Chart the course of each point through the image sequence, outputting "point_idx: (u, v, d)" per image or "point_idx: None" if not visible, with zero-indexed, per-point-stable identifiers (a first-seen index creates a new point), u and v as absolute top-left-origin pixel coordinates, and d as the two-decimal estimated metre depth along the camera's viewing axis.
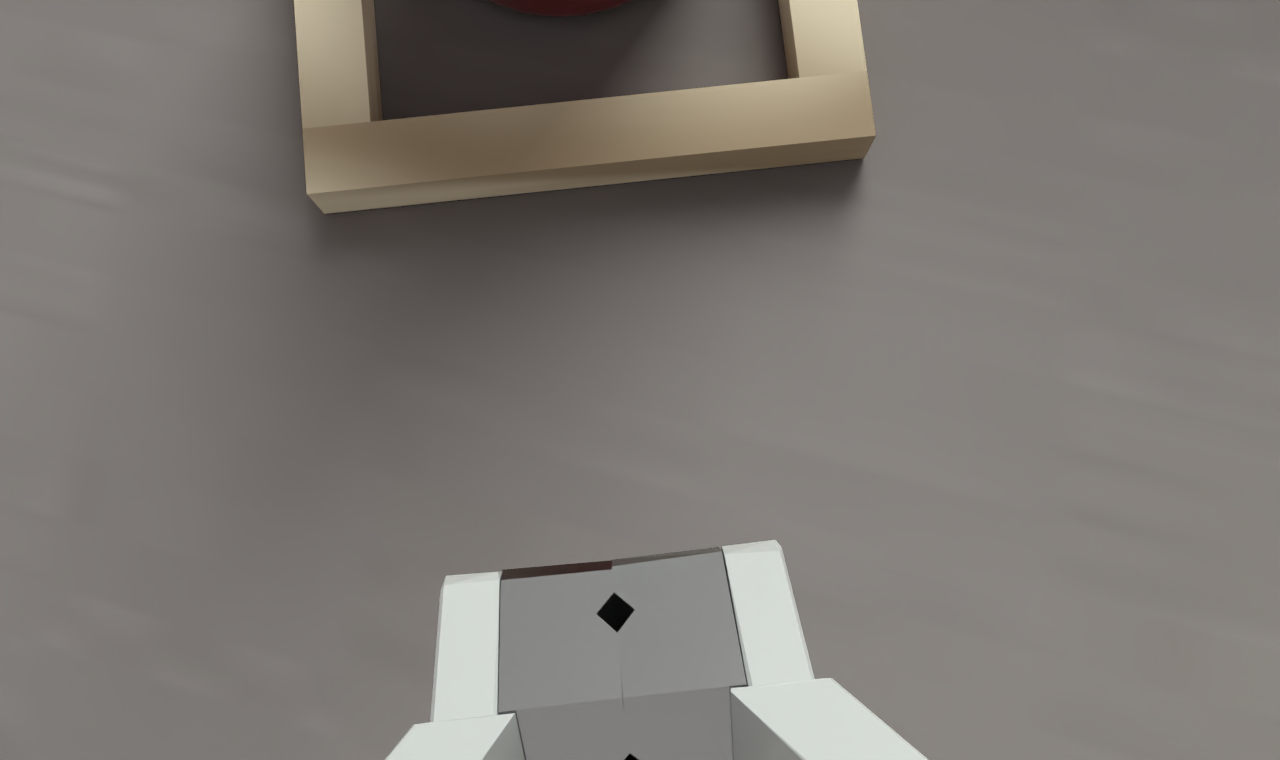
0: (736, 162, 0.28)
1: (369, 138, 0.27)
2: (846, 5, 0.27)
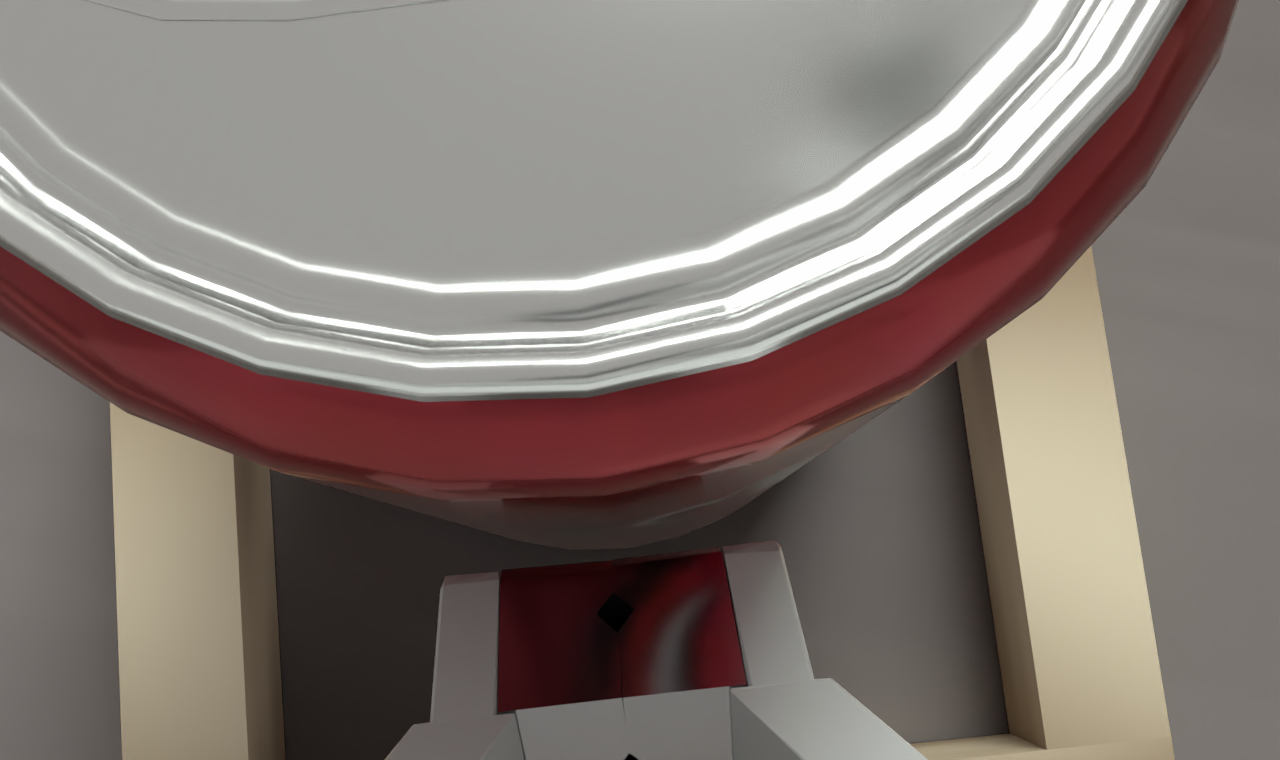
0: None
1: None
2: (1129, 606, 0.15)
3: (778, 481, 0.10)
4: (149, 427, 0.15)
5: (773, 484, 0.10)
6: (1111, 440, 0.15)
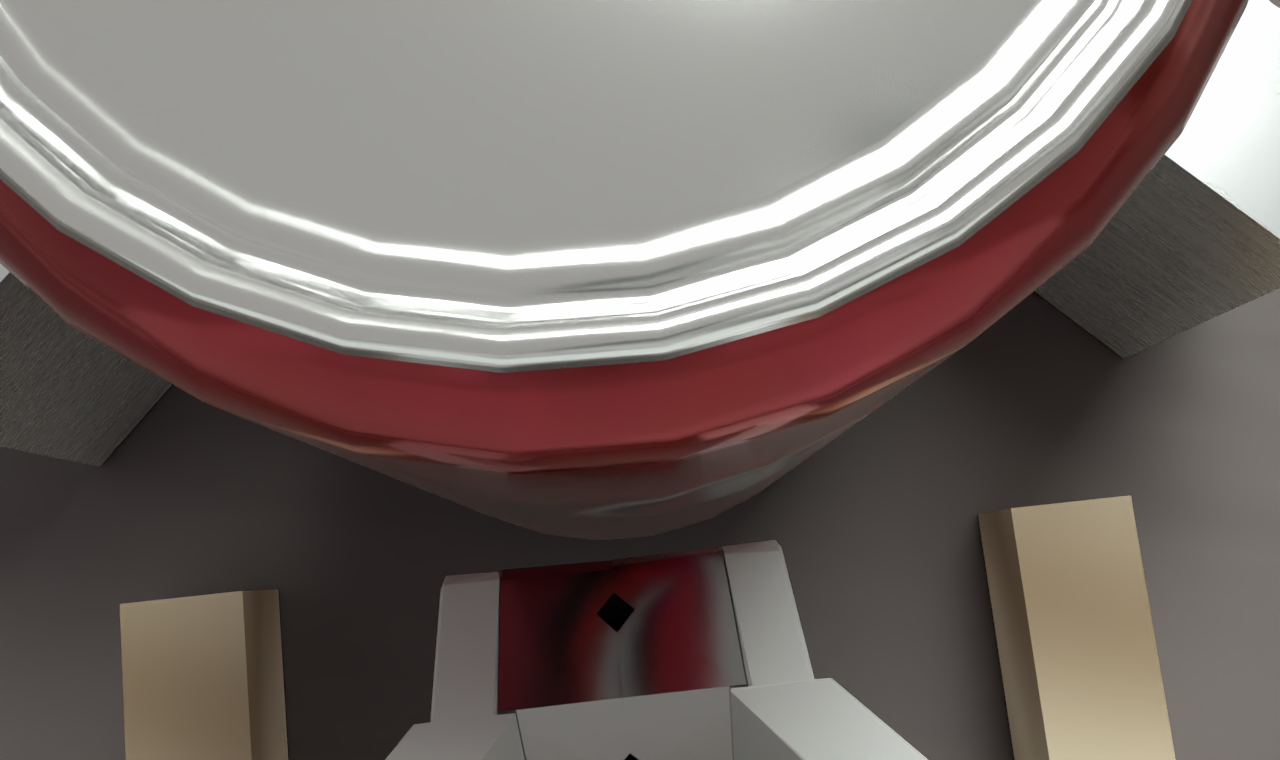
0: None
1: None
2: None
3: (736, 492, 0.10)
4: None
5: (732, 494, 0.11)
6: None
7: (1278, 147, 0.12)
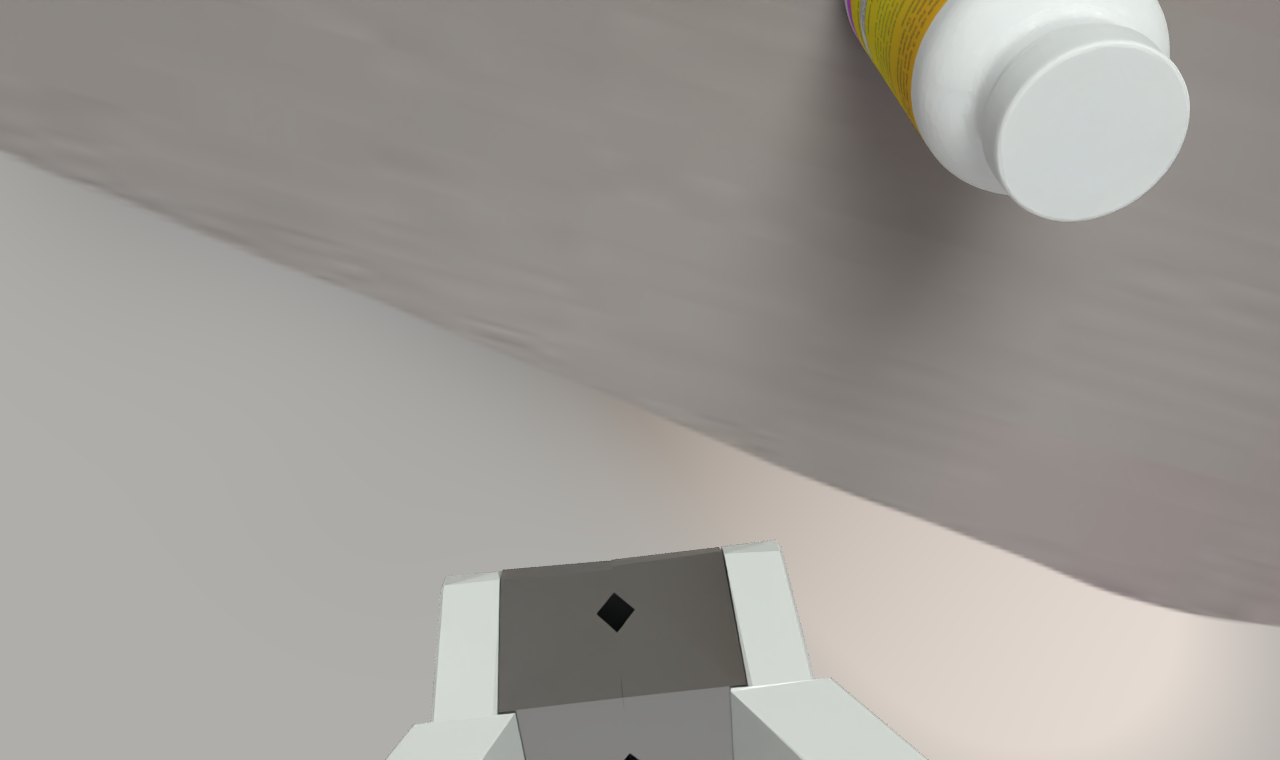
0: None
1: None
2: None
3: None
4: None
5: None
6: None
7: None
